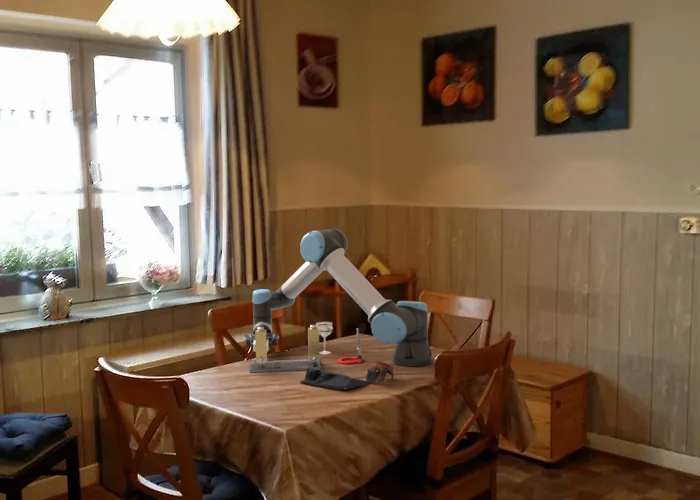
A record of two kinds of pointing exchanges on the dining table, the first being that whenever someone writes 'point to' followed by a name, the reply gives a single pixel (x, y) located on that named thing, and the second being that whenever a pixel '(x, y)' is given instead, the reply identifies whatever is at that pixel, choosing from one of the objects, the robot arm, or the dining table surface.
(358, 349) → the tow hook
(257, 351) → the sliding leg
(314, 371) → the dark folded cloth
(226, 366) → the dining table surface
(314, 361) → the bolt plate
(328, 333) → the wineglass
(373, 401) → the dining table surface
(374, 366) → the brown crumpled piece
